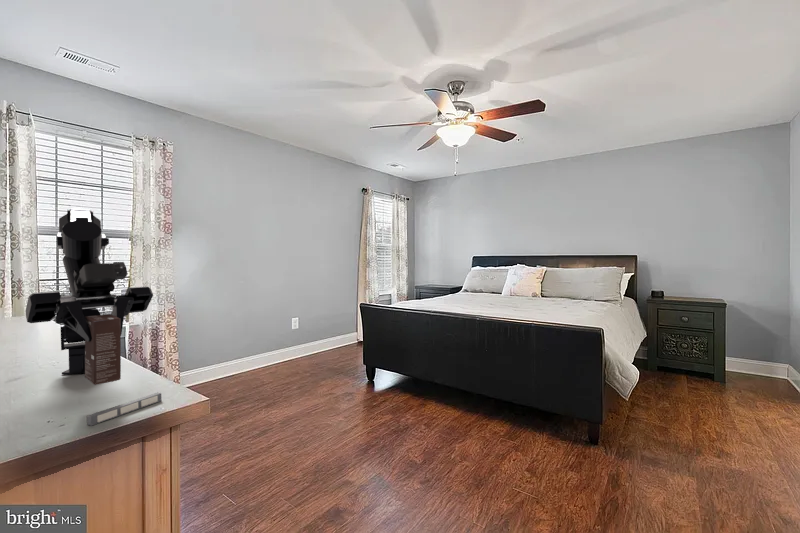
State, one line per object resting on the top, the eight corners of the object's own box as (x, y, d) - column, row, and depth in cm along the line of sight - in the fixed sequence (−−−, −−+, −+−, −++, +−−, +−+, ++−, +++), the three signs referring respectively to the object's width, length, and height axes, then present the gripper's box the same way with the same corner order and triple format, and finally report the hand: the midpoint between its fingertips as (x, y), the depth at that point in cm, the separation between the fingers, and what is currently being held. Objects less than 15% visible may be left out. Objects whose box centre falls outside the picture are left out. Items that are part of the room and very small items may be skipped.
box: (82, 378, 71) (84, 315, 71) (111, 373, 75) (113, 313, 74) (91, 386, 67) (93, 320, 67) (121, 380, 71) (123, 317, 71)
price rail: (87, 424, 63) (86, 415, 63) (157, 399, 74) (157, 392, 74) (91, 425, 63) (91, 417, 63) (162, 400, 74) (161, 393, 74)
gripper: (27, 247, 65) (44, 318, 59) (149, 248, 80) (172, 306, 74) (19, 288, 70) (34, 358, 64) (135, 282, 85) (155, 338, 79)
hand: (105, 338), depth 70 cm, fingers closed on box, 4 cm apart
